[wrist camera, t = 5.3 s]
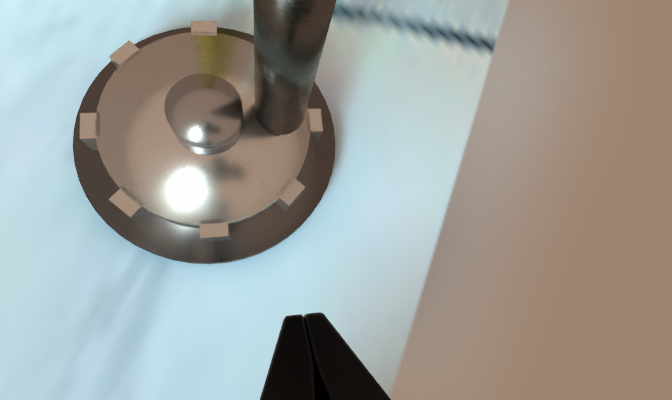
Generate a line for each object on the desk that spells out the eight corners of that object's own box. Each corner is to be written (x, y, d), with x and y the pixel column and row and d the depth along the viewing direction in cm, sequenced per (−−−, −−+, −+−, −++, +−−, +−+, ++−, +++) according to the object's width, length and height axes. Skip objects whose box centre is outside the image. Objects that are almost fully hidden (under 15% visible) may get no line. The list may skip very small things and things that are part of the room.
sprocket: (356, 118, 21) (462, -63, 10) (235, 287, 18) (200, 286, 7) (192, 2, 21) (119, -317, 10) (39, 153, 18) (-319, -67, 7)
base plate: (368, 208, 21) (391, 191, 18) (130, 307, 18) (97, 312, 14) (280, 13, 23) (285, -39, 19) (46, 70, 20) (-2, 21, 16)
